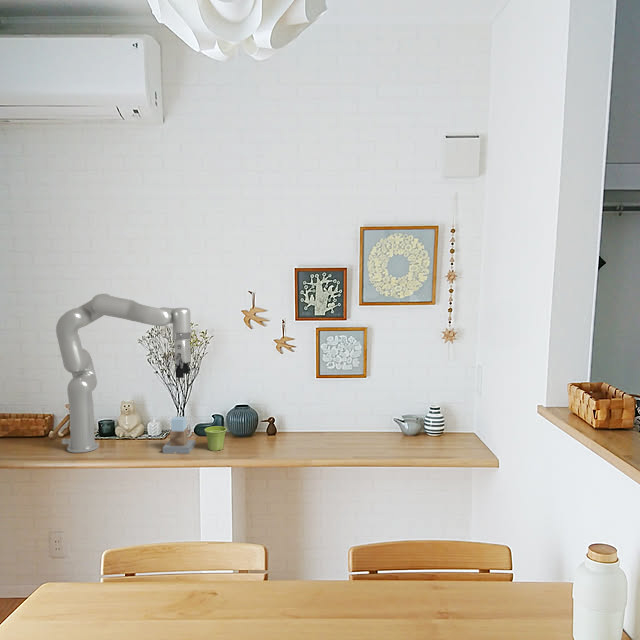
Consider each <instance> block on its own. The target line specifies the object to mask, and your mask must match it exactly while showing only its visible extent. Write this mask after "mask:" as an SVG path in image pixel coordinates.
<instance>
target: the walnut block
mask: <svg viewBox="0 0 640 640" xmlns="http://www.w3.org/2000/svg"><path fill="white" fill-rule="evenodd" d="M188 431H189V429H188V427H186V429H185V430H184V431H171V430H170V431H169V440H170V446H185V444H186V443H187V442H188V440H189V437H188Z"/></svg>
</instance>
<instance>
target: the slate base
mask: <svg viewBox="0 0 640 640" xmlns="http://www.w3.org/2000/svg"><path fill="white" fill-rule="evenodd" d="M194 446H195V447H196V440H195V439H188V442H187V443H186V444H185V446H170V439H169V440H168V441H167V442H166V443H165V444H164V445H163V447H162V454H190V453H191V452H192V450H193V449H194V448H195V447H194ZM193 447H194V448H193ZM190 451H191V452H190ZM174 452H176V453H174ZM178 452H179V453H178ZM189 452H190V453H189Z"/></svg>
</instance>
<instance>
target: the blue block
mask: <svg viewBox="0 0 640 640" xmlns="http://www.w3.org/2000/svg"><path fill="white" fill-rule="evenodd" d="M170 421H171V422H170V424H171V425H170V427H171V428H170V431H184V430H185V429H186V428H187V416H174V417H172V418H171V420H170Z"/></svg>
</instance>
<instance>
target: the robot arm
mask: <svg viewBox="0 0 640 640" xmlns="http://www.w3.org/2000/svg"><path fill="white" fill-rule="evenodd" d="M104 316H107V317H112V318H117V319H122V320H127V321H131V322H137V323H140V324H145V325H151V326H155V327H166V326H167V325H169V324H172V341H174V363H175V378H176V379H183V378H184V375H187V374H190V361H192V353H191V342H190V340H192V339H191V338H192V336H191V335H192V334H191V333H192V332H191V331H192V330H191V310H190V309H189V308H187V307H175V308H174V307H173V308H172V307H165V306H164V307H162V306H161V307H154V306H149V305H145V304H141V303H138V302H137V301H136V300H133V299H127V298H122V297H117V296H113V295H110V294H108V293H98V294H96V295H95V296H93V297H92V299H91V300H89V301H87V302H86V303H84V304H82V305H80V306H78V307H75V308H72V309H70V310H67V311H66V312H65V313H64V314H62V315H61V316H60V317H59V319H58V320H57V322H56V326H55V333H56V338H57V343H58V348H59V351H60V355H61V360H62V365H63V367H64V369H65V370H66V371H67V372H68V373H70V374H71V375H72V378H71V379H70V381H69V382H68V385H67V387H66V388H67V389H66V390H67V398H68V399H67V400H68V409H69V432H70V433H69V434H70V437H69V438H62V439H61V444H62V445H67V446H66V451H67V452H69V453H75V454H76V453H77V454H78V453H80V454H81V453H87V452H91V451H95V450H97V449H99V443H98V442H95V439H96V436H95V411H94V400H93V399H94V398H93V391H95V388H97V384H98V382H97V381H98V379H97V374H96V371H95V366H94V363H93V359H92V356H91V353H90V352H89V351H88V350H86V349H85V348H83V346H82V342H81V338H80V335H79V333H78V332H79V329H81V328H84V327H86V326H88V325H90V324H91V323H94V322H95V321H97V320H98V319H100V318H102V317H104Z"/></svg>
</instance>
